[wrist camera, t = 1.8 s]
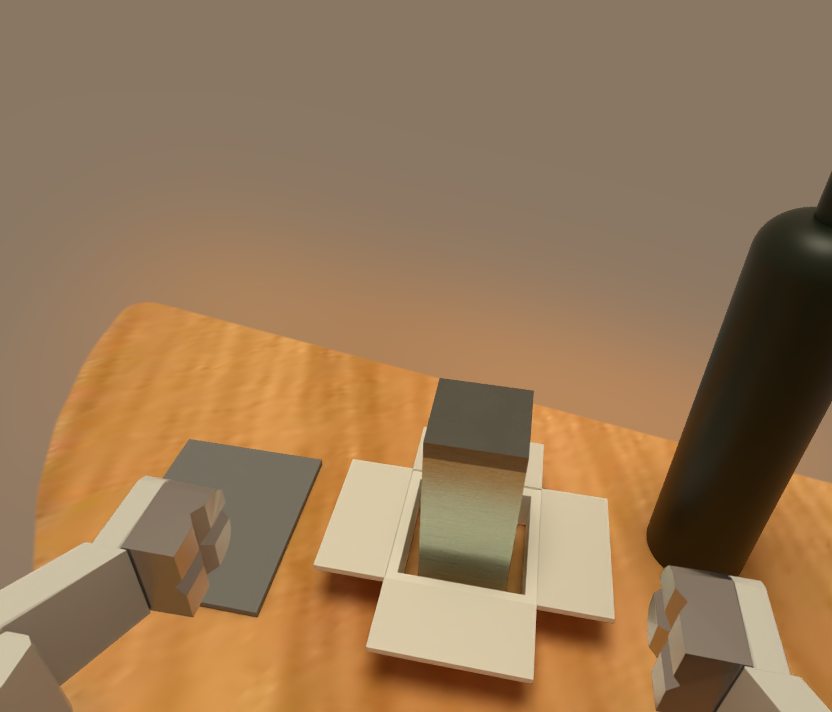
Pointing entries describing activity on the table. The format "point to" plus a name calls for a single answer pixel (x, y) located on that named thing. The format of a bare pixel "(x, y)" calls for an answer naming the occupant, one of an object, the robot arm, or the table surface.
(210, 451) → the mat
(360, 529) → the carton
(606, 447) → the table surface
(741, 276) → the wine bottle
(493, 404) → the tea tin
